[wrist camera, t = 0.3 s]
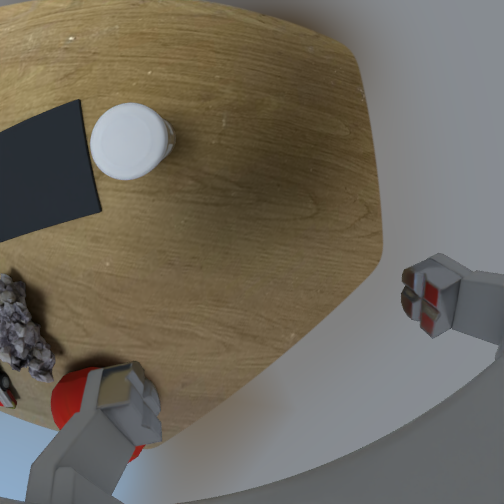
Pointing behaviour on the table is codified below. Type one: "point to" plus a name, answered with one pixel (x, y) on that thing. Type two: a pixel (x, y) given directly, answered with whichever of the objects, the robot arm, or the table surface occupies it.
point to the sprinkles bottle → (130, 141)
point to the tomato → (73, 399)
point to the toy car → (6, 393)
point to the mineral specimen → (22, 333)
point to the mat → (45, 172)
